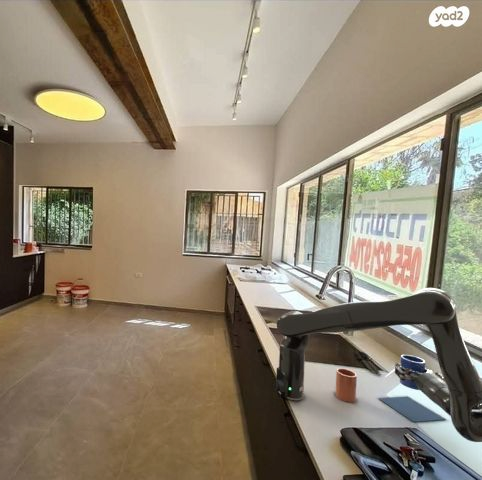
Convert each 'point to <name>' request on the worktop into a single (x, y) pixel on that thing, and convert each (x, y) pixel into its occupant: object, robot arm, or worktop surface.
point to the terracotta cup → (346, 385)
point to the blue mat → (411, 409)
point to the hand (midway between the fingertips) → (408, 366)
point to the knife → (359, 355)
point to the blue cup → (413, 364)
